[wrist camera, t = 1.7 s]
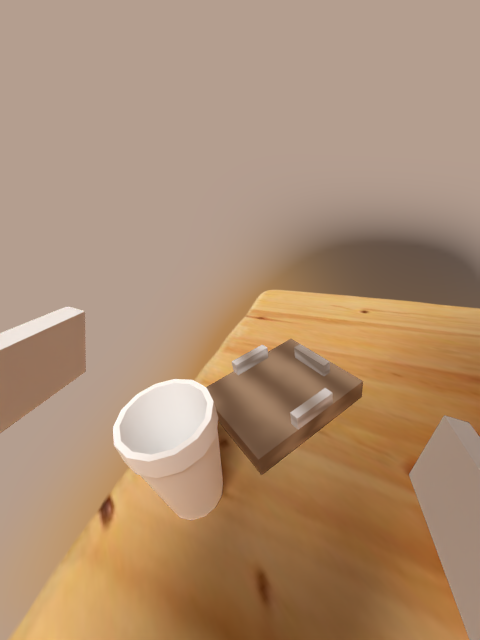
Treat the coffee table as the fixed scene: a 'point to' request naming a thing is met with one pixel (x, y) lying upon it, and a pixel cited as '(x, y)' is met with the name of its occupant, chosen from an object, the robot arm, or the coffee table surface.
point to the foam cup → (174, 445)
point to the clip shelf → (280, 400)
